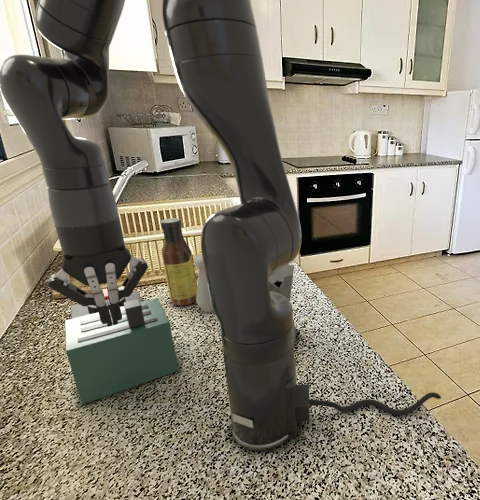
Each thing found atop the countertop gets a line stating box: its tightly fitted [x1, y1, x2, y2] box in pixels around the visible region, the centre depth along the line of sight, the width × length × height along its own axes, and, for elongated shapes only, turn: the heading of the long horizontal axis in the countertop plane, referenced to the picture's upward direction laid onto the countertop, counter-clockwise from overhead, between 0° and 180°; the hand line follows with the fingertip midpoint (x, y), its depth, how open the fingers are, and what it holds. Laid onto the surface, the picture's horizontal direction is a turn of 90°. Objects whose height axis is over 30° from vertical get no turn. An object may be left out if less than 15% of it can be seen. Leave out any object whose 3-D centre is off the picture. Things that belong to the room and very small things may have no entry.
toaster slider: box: [124, 299, 145, 328], centre depth 60 cm, size 2×3×4 cm
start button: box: [102, 288, 108, 303], centre depth 80 cm, size 4×4×2 cm
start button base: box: [70, 290, 143, 319], centre depth 81 cm, size 13×10×4 cm
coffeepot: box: [268, 263, 297, 343], centre depth 73 cm, size 15×9×18 cm, turn 26°
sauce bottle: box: [160, 217, 198, 307], centre depth 85 cm, size 6×6×20 cm
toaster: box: [64, 297, 179, 405], centre depth 63 cm, size 14×10×10 cm
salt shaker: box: [194, 253, 214, 313], centre depth 83 cm, size 6×6×13 cm
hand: (112, 323), depth 58 cm, fingers closed
